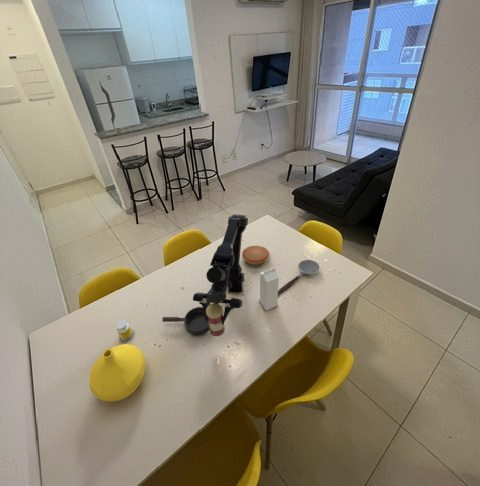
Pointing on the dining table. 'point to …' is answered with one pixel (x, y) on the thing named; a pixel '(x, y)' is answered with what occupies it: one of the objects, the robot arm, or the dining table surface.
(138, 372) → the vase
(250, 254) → the pie
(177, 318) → the pan handle
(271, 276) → the milk
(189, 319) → the pan
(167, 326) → the dining table surface
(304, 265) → the spoon
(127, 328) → the supplement bottle
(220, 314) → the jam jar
